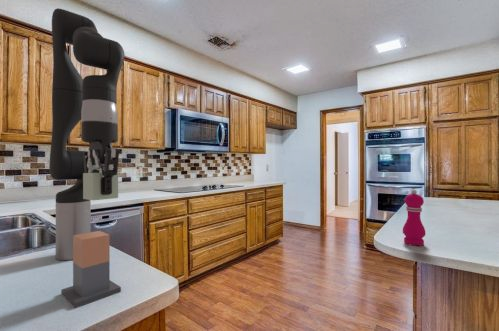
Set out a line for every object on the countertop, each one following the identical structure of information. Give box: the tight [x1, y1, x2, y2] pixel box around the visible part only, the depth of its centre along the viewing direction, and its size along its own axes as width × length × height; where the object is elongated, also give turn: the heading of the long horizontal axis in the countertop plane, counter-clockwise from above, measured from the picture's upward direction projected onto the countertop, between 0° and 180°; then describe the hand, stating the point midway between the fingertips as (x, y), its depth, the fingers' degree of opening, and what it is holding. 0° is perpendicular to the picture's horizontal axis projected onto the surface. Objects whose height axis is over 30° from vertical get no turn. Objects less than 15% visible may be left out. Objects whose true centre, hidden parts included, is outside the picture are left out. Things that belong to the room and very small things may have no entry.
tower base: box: [60, 261, 122, 309], centre depth 60 cm, size 9×9×7 cm
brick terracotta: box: [72, 230, 111, 268], centre depth 60 cm, size 6×6×6 cm
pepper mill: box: [402, 189, 426, 246], centre depth 98 cm, size 7×7×20 cm
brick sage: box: [83, 172, 119, 201], centre depth 63 cm, size 6×6×6 cm
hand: (100, 193), depth 62 cm, fingers closed on brick sage, 5 cm apart
